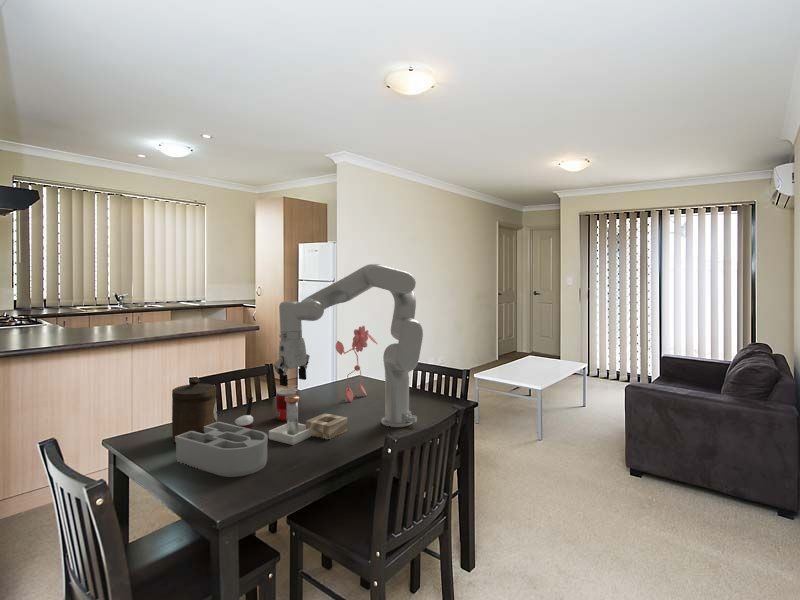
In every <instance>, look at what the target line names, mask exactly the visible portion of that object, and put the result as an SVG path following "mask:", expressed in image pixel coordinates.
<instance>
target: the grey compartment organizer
mask: <svg viewBox="0 0 800 600" xmlns="http://www.w3.org/2000/svg"><path fill="white" fill-rule="evenodd" d="M204 432H205V433H204V434H203V433H199V432H195V431H189V432H186V433H183V434H180V435H178V436H175V442H176V443H175V455H176V461H177V463H178V462H181V463H180V464H182V463H184V464H183V465H185V464H187V465H186V466H188V465H189V466H188V467H191V466H192V468H194V467H195V469H197V468H198V470H200V471H204V472H207V473H210V474H214V475H217V476H220V477H225V478H226V477H227V478H229V477H230V478H237V477H243V476H244V477H245V476H248V475H252V474H254V473H257V472H259V471H261V470H262V469H264V468H265V466H266V465H267V462H268V439H269V435H268V434H267V433H266V432H263V431H261V430H257V429H253V428H252V429H249V428H244V427H240V426H236V425H235V424H231V423H226V422H222V421H217V422H215V423H213V424H210V425H207V426H204Z"/></svg>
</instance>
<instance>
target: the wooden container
mask: <svg viewBox="0 0 800 600" xmlns="http://www.w3.org/2000/svg"><path fill="white" fill-rule="evenodd" d="M188 383H189V384H186V385H180V386H177V387H175V388H173V389H172V391H171V398H172V399H171V400H172V401H171V410H172V411H171V422H172V424H171V426H172V430H171V431H172V433H171V434H172V437H171V438H172V442H173V443H174V442H175V436H178V435H180V434H183V433H186V432H189V431H195V432H199V433H203V434H204V433H205V432H204V426H207V425H210V424H213V423H215V422H218V413H217V412H218V409H217V386H216V385H215V384H211V383H200V379H199V378H198V377H191V378H190V379H189V380H188ZM175 444H176V442H175Z"/></svg>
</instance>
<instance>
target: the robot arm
mask: <svg viewBox="0 0 800 600" xmlns="http://www.w3.org/2000/svg"><path fill="white" fill-rule="evenodd" d="M372 288H379V289H381V290H385V291H388V292H389V293H391V295H392V297H393V300H394V301H393V302H394V306H393V307H394V308H393V314H392V320H391V326H390V334H391V336H392V337H393V339H395V340H397V343H391V344H389V345H388V346H387V347H385V349H384V351H383V366H384V367H383V368H384V378H385V379H384V382H385V383H384V385H385V386H384V400H385V401H384V403H385V404H384V408H385V409H384V415H385V416H383V417H382V418H381V421H380V423H381V424H382V425H383V426H386V427H389V426H390V427H389V428H404V427H409V426H411V425H413V423H417V422H418V416H417V415H412V411H411V410H410V374H409V373H410V372H412V371H413V370H415V369H416V368H417V366H418V364H419V361H420V357H421V355H420V354H421V349H422V343H423V337H424V333H423V332H424V330H423V327H422V325H421V323H420V322H419V321H417V319H415V317H416V308H417V307H416V306H417V301H416V296H415V293H414V290H415V288H416V278H415V277H414V275H413V274H411V273H410V272H408V271H405V270H401V269H397V268H393V267H390V266H387V265H382V264H378V263H372V264H366V265H364V266H362V267H360V268H358V269H357V270H355V271H353V272H352V273H349V274H348V275H347V276H344V277H343V278H341V279H339V280H337V281H335V282H333V283H331V284H330V285H328V286H326V287H324V288H322V289H320V290H318V291H316V292H314V293H313V294H311V295H309V296H307V297H305V298H304V299H303V300H301V301H298V300H297V301H296V300H287V301H282V302H280V303H279V306H278V309H279V311H278V313H279V328H280V334H279V338H280V340H279V345H278V359H277V361H275V362H274V364H273V367H274V369H275V372H276V373H277V375H278V376H279V385H280V386H283V387H287V386H288V385H289V384H288V381H289V380H288V374H287V373H288V371H289V370H293V369H295V368H298V370H297V371H298V379H299V380H304V381H305V380H307V368H308V365H309V360H310V355H309V354H308V353H307V349H306V348H307V347H306V343H305V342H306V341H305V338H304V337H303V327H302V321H308V322H314V321H318V320H320V319H321V318H322V317H323V316H324V313H325V310H326V309H328V308H330V307H333V306H335V305H339V304H343V303H346V302H349V301H351V300H353V299H354V298H357V297H359V295H362V294H363V293H365V292H367V291H368V290H370V289H372Z"/></svg>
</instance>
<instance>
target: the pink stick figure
mask: <svg viewBox="0 0 800 600" xmlns="http://www.w3.org/2000/svg"><path fill="white" fill-rule="evenodd" d="M353 334H354V337H352V344H351V347H352V348H350V349H348V350H347V351H345V347H344V344H343V343H342V342H340V340H337V341H336V343H335V351H336V352H337V353H338V354H339V355H341V356H342V355H343V354H344V355H345V354H347V353H349V352H351V351H354V354H355V356H356V362H357V363H356V365H354V367H353V368H354V370H352V371H351V372H349V373H348V374H347V378H349V375H351V374H352V373H354V372H355V371H356V372H358V371H359V374H360V375H359V376H360V379H362V372H361V367H360V365H359V356H358V353H359V352H363V350H364V348H367V347H368V340H369V339H370V340H371V341H372V342H373V343H374V344H376V345H378V342H377V341H376V339H374V337H373V336H372V335H371V334H369V330H366V327H365V325H362V326H358V328H356V329H353ZM347 386H348V387H346V389H345V396H344V397H343V400H344V399H345V400H346V398H347V399H348V400H349V402H350V403H352V401H353V399H354V392H353V390H352V389H351V388H350V383H349V379H347ZM360 390H361V391H362V392H363V394H364V395H365V396H366V395H367V396H368V394H367V392H366V389H365V388H364V386H363V385H362V383H359V387H358V389H357V391H356V394H355V396H358V395H359V391H360Z"/></svg>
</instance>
